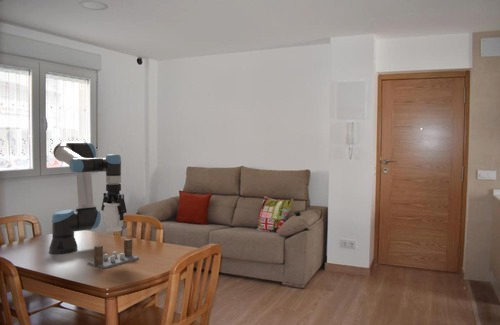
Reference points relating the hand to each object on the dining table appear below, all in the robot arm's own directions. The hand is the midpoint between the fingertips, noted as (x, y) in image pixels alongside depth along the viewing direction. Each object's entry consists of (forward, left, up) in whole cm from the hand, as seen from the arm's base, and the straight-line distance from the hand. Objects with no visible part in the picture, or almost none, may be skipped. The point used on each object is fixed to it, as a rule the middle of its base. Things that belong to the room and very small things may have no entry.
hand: (113, 225), depth 221 cm
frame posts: (0, 0, -19) cm, 19 cm away
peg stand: (0, 0, -19) cm, 19 cm away
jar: (0, 0, -3) cm, 3 cm away
